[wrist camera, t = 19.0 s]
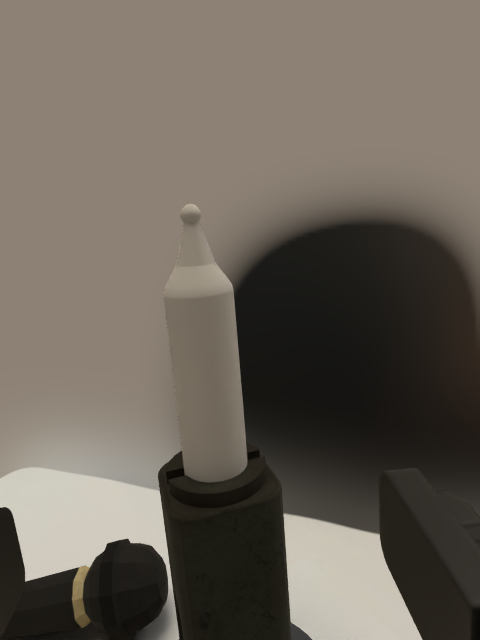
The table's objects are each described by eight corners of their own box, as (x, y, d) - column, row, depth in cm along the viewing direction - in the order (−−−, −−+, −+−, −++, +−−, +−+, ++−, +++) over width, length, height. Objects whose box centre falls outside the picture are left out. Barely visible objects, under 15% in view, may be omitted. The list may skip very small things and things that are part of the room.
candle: (182, 667, 26) (120, 211, 20) (266, 636, 27) (231, 202, 21) (202, 768, 21) (130, 206, 15) (304, 724, 22) (272, 195, 17)
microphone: (-140, 713, 28) (177, 648, 28) (-204, 672, 25) (150, 599, 25) (-93, 618, 33) (178, 562, 33) (-143, 574, 30) (156, 512, 30)
